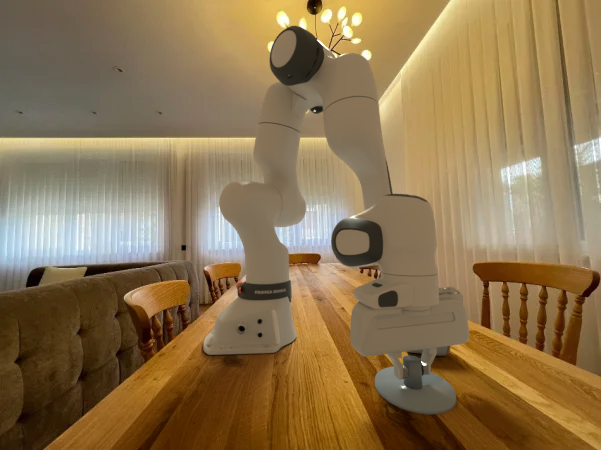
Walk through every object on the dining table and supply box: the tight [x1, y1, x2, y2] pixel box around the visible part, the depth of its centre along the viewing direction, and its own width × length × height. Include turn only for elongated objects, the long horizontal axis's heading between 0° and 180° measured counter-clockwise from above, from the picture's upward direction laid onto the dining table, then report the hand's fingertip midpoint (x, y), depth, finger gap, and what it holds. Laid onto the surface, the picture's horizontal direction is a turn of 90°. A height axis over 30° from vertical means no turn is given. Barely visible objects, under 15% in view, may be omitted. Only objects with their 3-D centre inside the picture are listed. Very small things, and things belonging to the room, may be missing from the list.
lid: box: [374, 354, 457, 415], centre depth 41 cm, size 12×12×5 cm
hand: (412, 375), depth 41 cm, fingers closed on lid, 3 cm apart
